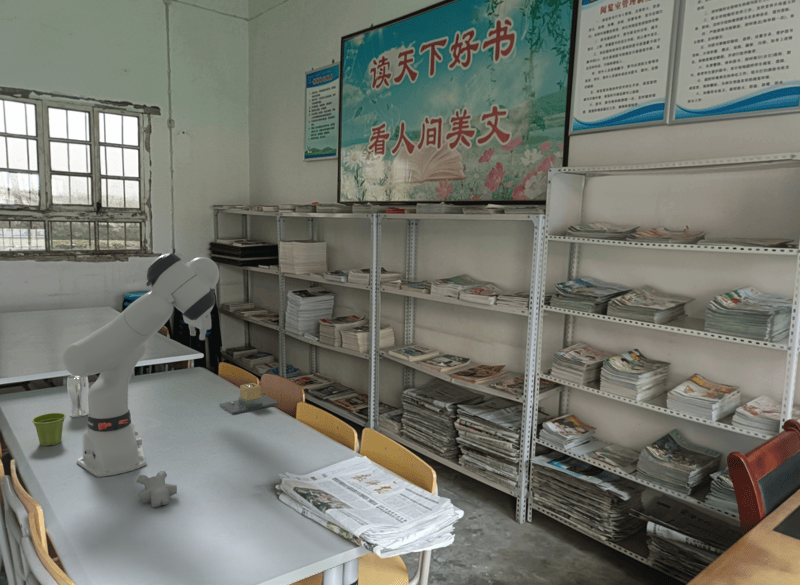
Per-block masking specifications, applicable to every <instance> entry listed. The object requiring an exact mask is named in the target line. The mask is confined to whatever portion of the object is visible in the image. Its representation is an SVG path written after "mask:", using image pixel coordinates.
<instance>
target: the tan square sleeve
mask: <svg viewBox="0 0 800 585" xmlns="http://www.w3.org/2000/svg"><path fill="white" fill-rule="evenodd" d="M248 385H253V387H249V388H248ZM239 386H240V388H239V394H240V395H239V397H241V398H243V399H244V400H246V401H250V400H254V399H259V398H261V395H262V392H261V388H262V387H261V385H259V384H257V383H255V382H251V383H245V384H241V385H239Z"/></svg>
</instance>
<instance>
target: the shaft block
mask: <svg viewBox="0 0 800 585" xmlns="http://www.w3.org/2000/svg"><path fill="white" fill-rule="evenodd" d="M249 387H253V385H248V388H249ZM279 403H280V402H279V401H278V400H276V399H274V398H271V397H270V396H268V395H266V394H261V398H259V399H254V400H250V401H246V400H244V399H243V398H241V397H240V396H238V399H236V400H232V401H226V402H223V403H222V402H221V403H219V407H220V408H221V409H223V410H225V411H226V412H228V413H229V414H231V415H236V414H240V413H246V412H250V411H255V410H258V409H260V410H261V409H264V408H269V407H274V406H279Z"/></svg>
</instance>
